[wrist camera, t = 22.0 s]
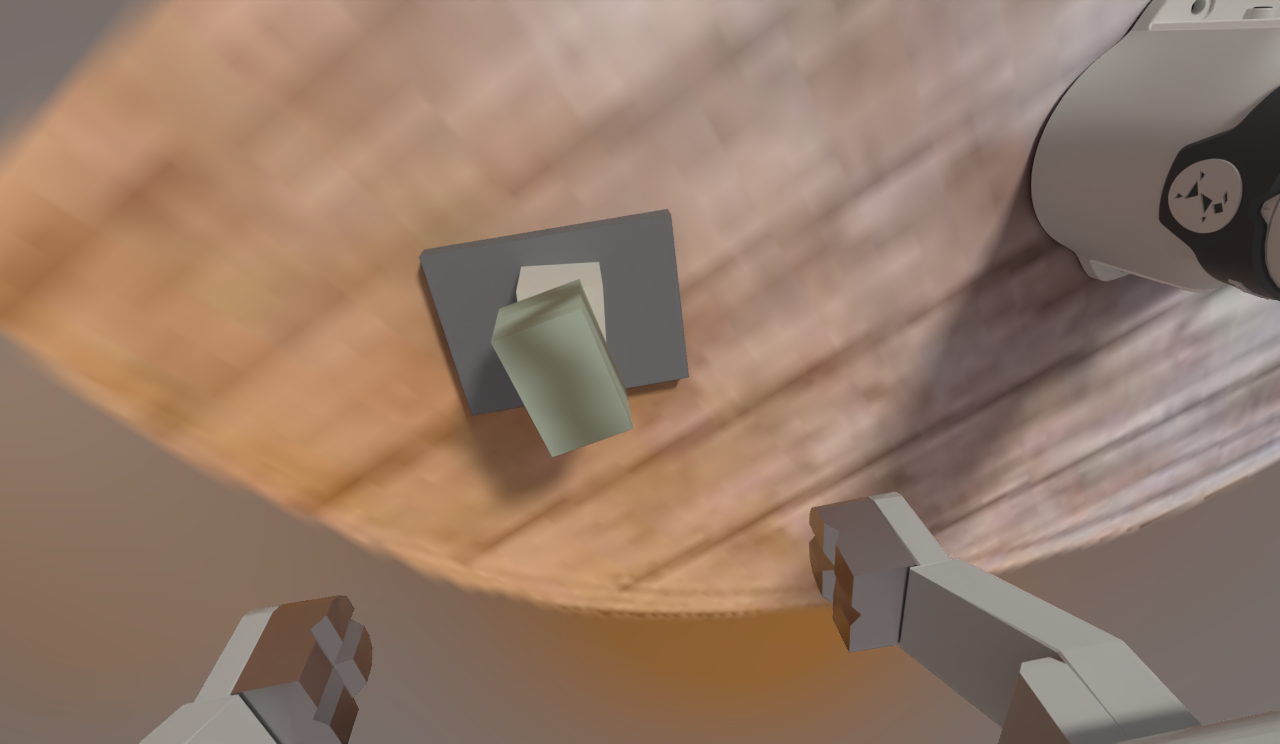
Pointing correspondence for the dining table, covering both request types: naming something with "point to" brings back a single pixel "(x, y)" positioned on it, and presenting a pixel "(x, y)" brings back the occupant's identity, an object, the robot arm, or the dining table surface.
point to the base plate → (489, 269)
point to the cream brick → (556, 275)
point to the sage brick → (562, 368)
